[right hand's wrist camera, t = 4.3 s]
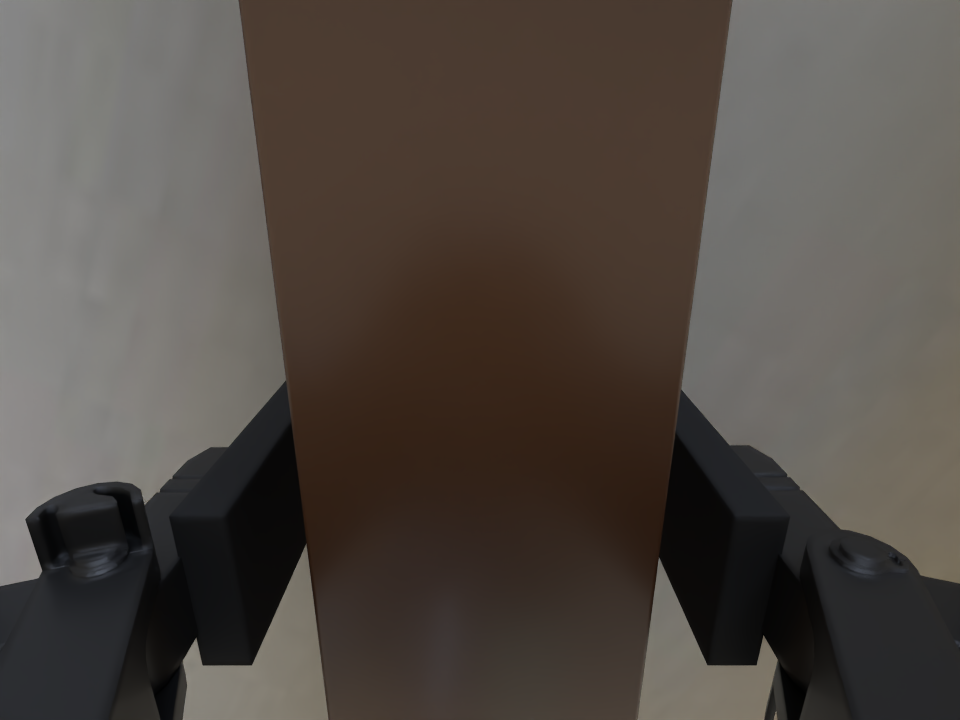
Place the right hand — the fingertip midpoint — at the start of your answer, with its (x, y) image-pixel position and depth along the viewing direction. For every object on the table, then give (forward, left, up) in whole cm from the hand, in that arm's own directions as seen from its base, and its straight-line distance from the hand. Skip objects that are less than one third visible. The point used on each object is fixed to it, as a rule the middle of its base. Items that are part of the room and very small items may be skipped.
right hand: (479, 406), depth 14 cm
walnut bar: (+7, +6, 0) cm, 9 cm away
